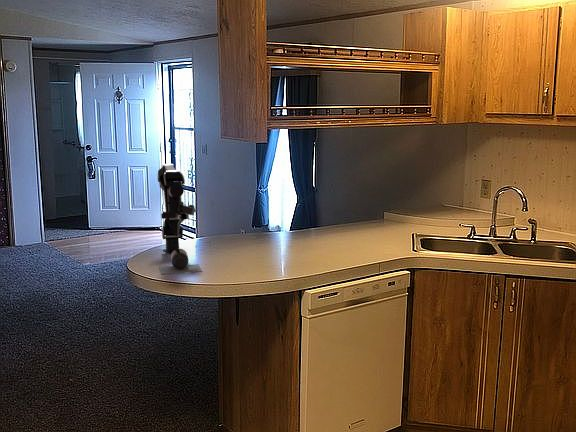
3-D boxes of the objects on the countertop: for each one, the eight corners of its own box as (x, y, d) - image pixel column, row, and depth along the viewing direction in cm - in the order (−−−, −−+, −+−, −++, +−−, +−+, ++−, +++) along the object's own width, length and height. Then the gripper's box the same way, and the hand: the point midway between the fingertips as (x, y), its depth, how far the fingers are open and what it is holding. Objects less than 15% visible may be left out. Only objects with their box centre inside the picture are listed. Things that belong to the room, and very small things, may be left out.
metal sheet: (159, 267, 258) (159, 266, 258) (198, 264, 262) (198, 264, 262) (161, 274, 248) (161, 273, 248) (202, 271, 252) (202, 270, 252)
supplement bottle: (167, 253, 261) (168, 260, 249) (181, 245, 262) (183, 251, 250) (176, 267, 263) (177, 274, 251) (190, 258, 263) (192, 265, 252)
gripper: (185, 196, 259) (187, 234, 258) (199, 199, 277) (201, 234, 276) (159, 198, 260) (162, 236, 260) (174, 201, 279) (176, 236, 278)
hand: (176, 235), depth 268 cm, fingers closed
